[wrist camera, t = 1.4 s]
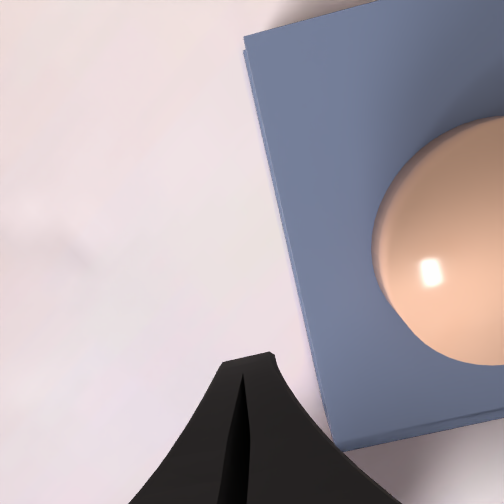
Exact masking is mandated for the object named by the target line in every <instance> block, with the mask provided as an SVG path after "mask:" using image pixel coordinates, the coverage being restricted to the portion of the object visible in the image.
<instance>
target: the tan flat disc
mask: <svg viewBox="0 0 504 504" xmlns="http://www.w3.org/2000/svg"><path fill="white" fill-rule="evenodd" d="M371 255H372V265H373V269H374V273H375V277H376V280H377V282H378V285H379V287H380V290H381V291H382V293H383V295H384V296H385V298H386V300H387V301H388V302H389V304H390V305H391V306H392V307H393V309H394V310H395V311H396V312H397V314H398V315H399V316H400V317H401V318H402V320H403V321H404V322H405V323H406V324H407V326H408V327H409V328H410V329H411V330H412V332H413V333H414V334H415V335H416V336H417V337H418V338H419V339H420V340H421V341H423V342H424V343H425V344H426V345H428V346H429V347H431V348H432V349H434V350H435V351H437V352H439V353H441V354H443V355H445V356H447V357H449V358H452V359H455V360H459V361H462V362H466V363H471V364H477V365H504V116H493V117H487V118H482V119H477V120H474V121H471V122H468V123H465V124H462V125H459V126H457V127H455V128H453V129H451V130H449V131H446V132H445V133H443V134H442V135H440V136H438V137H437V138H435V139H433V140H432V141H430V142H429V143H428V144H427V145H425V146H424V147H423V148H422V149H420V150H419V151H418V152H417V153H416V154H415V155H414V156H413V157H412V158H411V159H410V160H409V161H408V162H407V163H406V164H405V165H404V166H403V167H402V169H401V170H400V171H399V172H398V174H397V175H396V176H395V178H394V179H393V181H392V182H391V184H390V186H389V187H388V189H387V191H386V193H385V195H384V197H383V199H382V201H381V203H380V205H379V208H378V212H377V215H376V218H375V221H374V226H373V232H372V242H371Z"/></svg>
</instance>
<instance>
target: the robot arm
mask: <svg viewBox="0 0 504 504" xmlns="http://www.w3.org/2000/svg"><path fill="white" fill-rule="evenodd" d="M128 504H402V503H400V502H399V501H398V500H396V499H395V498H394V497H393V496H392V495H390V494H389V493H388V492H387V491H386V490H384V489H383V488H382V487H381V486H380V485H378V484H377V483H376V482H375V481H374V480H373V479H371V478H370V477H369V476H368V475H367V474H365V473H364V472H363V471H362V470H361V469H360V468H358V467H357V466H356V465H355V464H354V463H353V462H352V461H351V460H350V459H349V458H348V457H347V456H346V455H345V454H344V453H343V452H342V451H341V450H340V449H339V448H338V447H337V446H336V445H335V444H334V443H333V442H332V441H331V440H330V439H329V438H328V437H327V436H326V435H325V433H324V432H323V431H322V430H321V429H320V428H319V427H318V425H317V424H316V423H315V422H314V421H313V419H312V418H311V417H310V416H309V414H308V413H307V412H306V411H305V409H304V408H303V407H302V405H301V404H300V403H299V401H298V400H297V398H296V397H295V395H294V394H293V392H292V391H291V390H290V388H289V387H288V385H287V383H286V382H285V380H284V378H283V376H282V374H281V373H280V370H279V368H278V366H277V363H276V359H275V355H274V354H272V353H271V352H265V353H261V354H256V355H252V356H248V357H243V358H239V359H235V360H230V361H226V362H222V364H221V365H220V367H219V369H218V371H217V372H216V374H215V376H214V378H213V380H212V382H211V384H210V386H209V388H208V389H207V391H206V393H205V395H204V397H203V399H202V400H201V402H200V404H199V405H198V407H197V409H196V411H195V412H194V414H193V416H192V417H191V419H190V421H189V422H188V424H187V426H186V427H185V429H184V430H183V432H182V433H181V435H180V436H179V438H178V439H177V441H176V442H175V444H174V445H173V447H172V448H171V450H170V451H169V453H168V454H167V456H166V457H165V459H164V460H163V461H162V463H161V464H160V465H159V467H158V468H157V470H156V471H155V472H154V473H153V475H152V476H151V477H150V478H149V480H148V481H147V482H146V483H145V485H144V486H143V487H142V488H141V490H140V491H139V492H138V493H137V494H136V495H135V497H134V498H133V499H132V500H131V501H130V502H129V503H128Z"/></svg>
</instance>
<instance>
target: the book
mask: <svg viewBox="0 0 504 504" xmlns="http://www.w3.org/2000/svg"><path fill="white" fill-rule="evenodd" d="M244 43H245V47H246V50H243V54H244V58H245V62H246V67H247V71H248V76H249V80H250V84H251V89H252V93H253V98H254V102H255V106H256V111H257V115H258V120H259V124H260V128H261V133H262V137H263V142H264V146H265V150H266V155H267V159H268V164H269V168H270V173H271V177H272V181H273V186H274V190H275V195H276V199H277V203H278V208H279V212H280V217H281V221H282V225H283V230H284V234H285V239H286V243H287V247H288V252H289V256H290V261H291V265H292V270H293V274H294V278H295V283H296V287H297V292H298V296H299V300H300V305H301V309H302V314H303V318H304V322H305V327H306V331H307V336H308V340H309V344H310V349H311V353H312V358H313V362H314V366H315V371H316V375H317V380H318V384H319V389H320V393H321V397H322V402H323V406H324V410H325V414H326V417H327V421H328V424H329V427H330V431H331V434H332V438H333V441H334V444H335V445H336V446H337V447H338V448H339V449H340V450H341V451H342V452H346V451H350V450H355V449H360V448H365V447H369V446H374V445H379V444H383V443H388V442H393V441H397V440H402V439H407V438H411V437H416V436H421V435H426V434H430V433H435V432H440V431H444V430H449V429H454V428H458V427H463V426H468V425H472V424H477V423H482V422H487V421H491V420H496V419H501V418H504V365H477V364H471V363H466V362H462V361H459V360H455V359H452V358H449V357H447V356H445V355H443V354H441V353H439V352H437V351H435V350H434V349H432V348H431V347H429V346H428V345H426V344H425V343H424V342H423V341H421V340H420V339H419V338H418V337H417V336H416V335H415V334H414V333H413V332H412V330H411V329H410V328H409V327H408V326H407V324H406V323H405V322H404V321H403V320H402V318H401V317H400V316H399V315H398V314H397V312H396V311H395V310H394V309H393V307H392V306H391V305H390V304H389V302H388V301H387V300H386V298H385V296H384V295H383V293H382V291H381V290H380V287H379V285H378V282H377V280H376V277H375V273H374V269H373V265H372V255H371V242H372V232H373V226H374V221H375V218H376V215H377V212H378V208H379V205H380V203H381V201H382V199H383V197H384V195H385V193H386V191H387V189H388V187H389V186H390V184H391V182H392V181H393V179H394V178H395V176H396V175H397V174H398V172H399V171H400V170H401V169H402V167H403V166H404V165H405V164H406V163H407V162H408V161H409V160H410V159H411V158H412V157H413V156H414V155H415V154H416V153H417V152H418V151H419V150H420V149H422V148H423V147H424V146H425V145H427V144H428V143H429V142H430V141H432V140H433V139H435V138H437V137H438V136H440V135H442V134H443V133H445V132H446V131H449V130H451V129H453V128H455V127H457V126H459V125H462V124H465V123H468V122H471V121H474V120H477V119H482V118H487V117H493V116H504V0H378V1H374V2H370V3H367V4H363V5H359V6H355V7H352V8H348V9H344V10H341V11H337V12H333V13H329V14H326V15H322V16H318V17H315V18H311V19H307V20H303V21H300V22H296V23H292V24H288V25H285V26H281V27H277V28H274V29H270V30H266V31H262V32H259V33H255V34H251V35H247V36H244Z"/></svg>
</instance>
